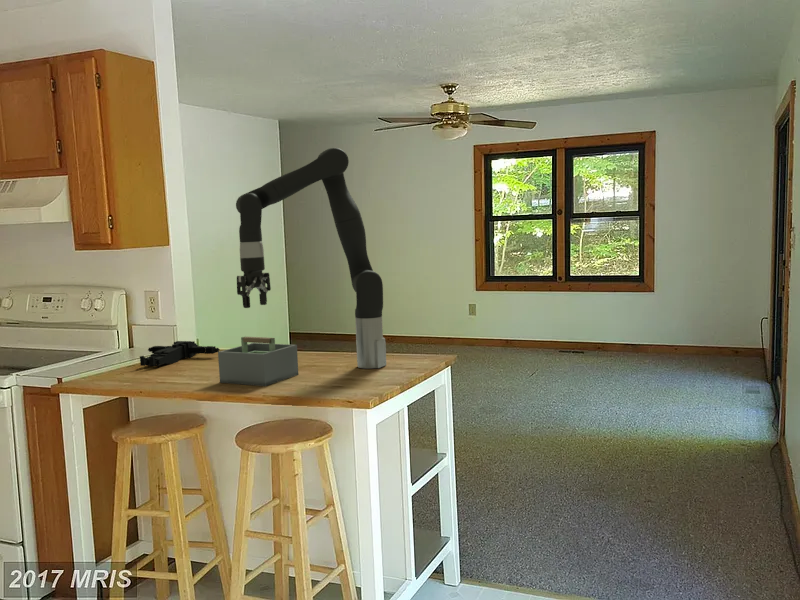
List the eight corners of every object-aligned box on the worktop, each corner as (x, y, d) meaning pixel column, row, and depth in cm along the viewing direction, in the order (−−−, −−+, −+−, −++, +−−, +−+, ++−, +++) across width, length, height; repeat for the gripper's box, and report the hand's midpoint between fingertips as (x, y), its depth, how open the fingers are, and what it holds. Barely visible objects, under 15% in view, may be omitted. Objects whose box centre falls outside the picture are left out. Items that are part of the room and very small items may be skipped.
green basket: (284, 373, 236) (282, 335, 235) (264, 380, 227) (262, 341, 225) (255, 371, 242) (253, 334, 240) (234, 377, 232) (232, 339, 231)
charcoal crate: (298, 374, 238) (296, 344, 237) (265, 386, 222) (263, 354, 221) (254, 371, 246) (253, 342, 245) (219, 382, 230) (217, 351, 229)
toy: (109, 354, 262) (158, 338, 290) (111, 371, 263) (159, 353, 291) (183, 355, 253) (226, 338, 282) (185, 373, 254) (227, 354, 283)
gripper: (247, 257, 222) (250, 309, 224) (274, 254, 235) (278, 303, 236) (228, 257, 225) (231, 308, 227) (256, 255, 238) (259, 303, 240)
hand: (255, 306), depth 232 cm, fingers open, 8 cm apart
